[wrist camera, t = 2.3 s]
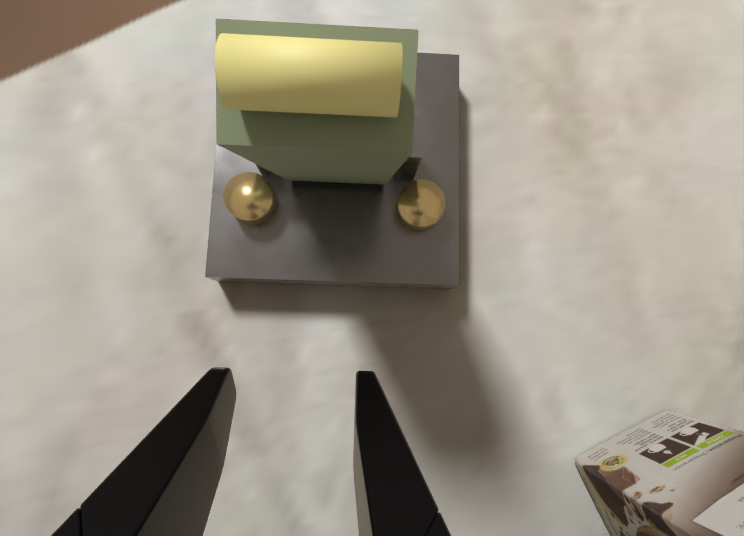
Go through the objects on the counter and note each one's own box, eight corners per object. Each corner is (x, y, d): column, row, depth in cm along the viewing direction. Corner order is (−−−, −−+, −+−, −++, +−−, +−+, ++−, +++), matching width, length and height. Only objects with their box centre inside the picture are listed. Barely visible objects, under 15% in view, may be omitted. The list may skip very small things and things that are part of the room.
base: (450, 288, 24) (476, 278, 19) (218, 281, 23) (179, 268, 18) (450, 75, 26) (475, 13, 20) (235, 64, 25) (204, -3, 20)
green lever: (388, 185, 22) (430, 142, 9) (286, 181, 22) (182, 131, 9) (390, 127, 22) (438, -3, 9) (286, 122, 22) (180, -18, 9)
